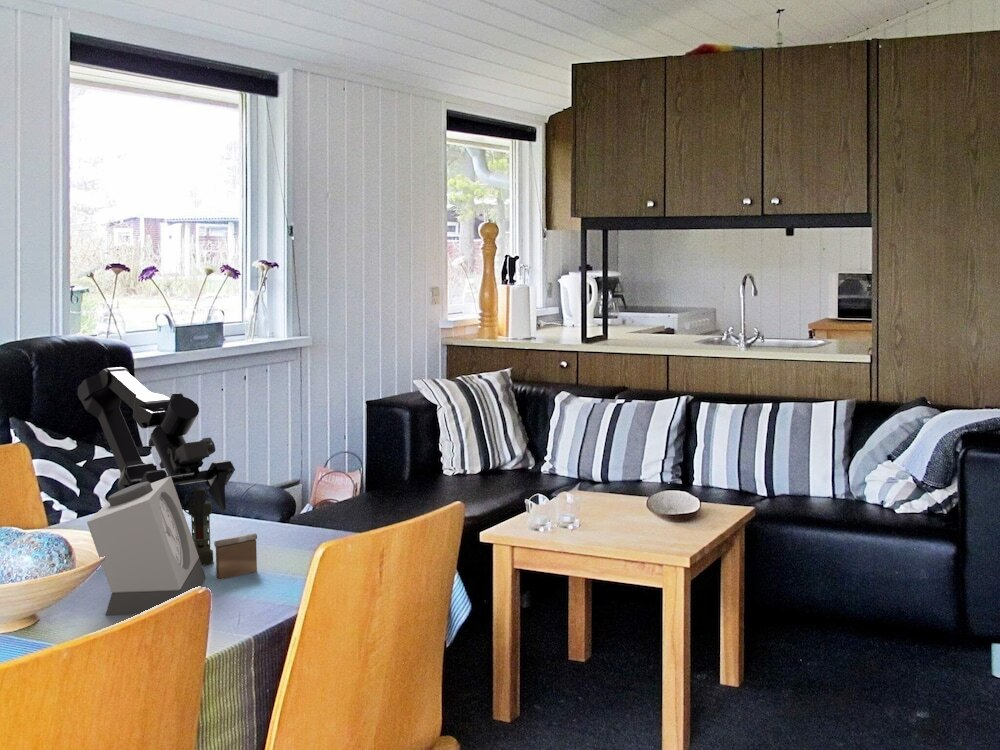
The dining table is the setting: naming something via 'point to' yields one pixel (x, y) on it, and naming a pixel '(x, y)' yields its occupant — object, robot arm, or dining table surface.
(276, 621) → the dining table surface
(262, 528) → the dining table surface
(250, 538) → the wooden panel
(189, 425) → the robot arm
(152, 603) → the alarm clock
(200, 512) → the grenade
